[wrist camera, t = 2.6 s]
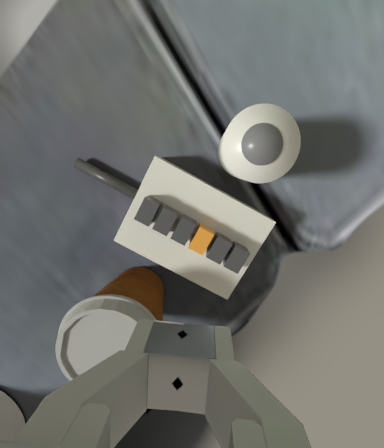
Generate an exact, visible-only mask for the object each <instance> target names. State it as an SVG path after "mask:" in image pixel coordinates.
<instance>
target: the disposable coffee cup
mask: <svg viewBox="0 0 384 448" xmlns="http://www.w3.org/2000/svg"><path fill="white" fill-rule="evenodd" d="M163 303H164V285H163V282H162V280H161V278H160V277H159V276H158V275H157V274H156V273H155V272H154V271H152V270H150V269H148V268H144V267H133V268H130V269H128V270H126V271H124V272H123V273H122V274H121V275H119V276H118V277H117V278H116V279H114V280H113V281H112V282H110V283H109V284H108V285H106V286H105V287H104V288H103V289H102V290H100V291H99V292H98V293H96V294H95V295H94V296H93V297H90V298H87V299H85V300H83V301H81V302H79V303H78V304H76V305H75V306H74V307H72V308H71V309H70V310H69V311H68V312H67V314H66V315H65V316H64V318H63V320H62V322H61V324H60V327H59V332H58V337H57V340H56V349H55V352H56V358H57V361H58V364H59V366H60V368H61V370H62V372H63V374H64V375H65V376H66V377H67V378H68V379H69V381H71V380H73V379H74V378H76V377H78V376H79V375H81V374H82V373H84V372H86V371H87V370H89V369H91V368H92V367H94V366H95V365H97V364H99V363H100V362H102V361H103V360H105V359H107V358H108V357H110V356H112V355H113V354H115V353H116V352H118V351H120V350H124V351H125V349H126V346H127V344H128V342H129V340H130V337H131V335H132V333H133V331H134V329H135V326H136V324H137V322H138V320H139V319H149V320H154V321H155V320H158V321H162V319H163Z"/></svg>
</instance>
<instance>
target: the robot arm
mask: <svg viewBox="0 0 384 448" xmlns="http://www.w3.org/2000/svg"><path fill="white" fill-rule="evenodd" d="M146 408H147V409H161V410H175V411H183V412H191V413H197V414H205V417H206V419H207V421H208V423H209V424H210V427H211V429H212V430H213V432H214V434H215V436H216V438H217V440H218V442H219V444H220V446H221V447H222V448H311V445H310V443H309V440H308V437H307V435H306V432H305V430H304V427H303V425H302V423H301V422H300V421H299V420H298V419H297V418H296V417H295V416H294V415H293V414H292V413H291V412H290V411H289V410H288V409H287V408H286V407H285V406H284V405H283V404H282V403H281V402H280V401H279V400H278V399H277V398H276V397H275V396H274V395H273V394H272V393H271V392H270V391H269V390H268V389H267V388H265V387H264V385H263V384H261V383H260V382H259V380H257V379H256V378H255V377H254V376H253V375H252V374H251V373H250V372H249V371H248V370H247V369H246V368H245V367H244V366H243V365H242V364H241V363H240V362H237V361H235V358H234V352H233V345H232V339H231V332H230V328H229V327H226V326H206V325H192V324H184V323H175V322H167V321H158V320H155V321H154V320H149V319H139V320H138V322H137V324H136V326H135V329H134V331H133V333H132V335H131V337H130V340H129V342H128V344H127V346H126V349H125V351H124V350H120V351H118V352H116V353H115V354H113V355H112V356H110V357H108V358H107V359H105V360H103V361H102V362H100V363H99V364H97V365H95V366H94V367H92V368H91V369H89V370H87V371H86V372H84V373H82V374H81V375H79V376H78V377H76V378H74V379H73V380H71V381H70V382H68V383H66V384H65V385H63V386H61V387H60V388H58V389H57V390H55V391H53V392H52V393H50V394H49V395H47V396H45V397H44V399H43V400H42V402H41V403H40V405H39V406H38V407H37V409H36V410H35V412H34V413H33V414H32V416H31V417H30V419H29V420H28V421H27V423H26V424H25V420H24V417H23V415H22V412H21V411H20V409H19V407H18V406H17V405H16V403H15V402H14V401H13V400H12V399H11V398H10V397H9V396H8V395H6V394H5V393H4V392H2V391H1V390H0V448H114V447H115V446H116V445H117V443H118V442H119V441H120V440H121V439H122V438H123V436H124V435H125V434H126V433H127V432H128V431H129V430H130V429H131V427H132V426H133V425H134V424H135V423H136V422H137V420H138V419H139V418H140V417H141V416H142V415H143V414H144V412H145V411H146Z"/></svg>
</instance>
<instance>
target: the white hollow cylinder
mask: <svg viewBox="0 0 384 448" xmlns="http://www.w3.org/2000/svg"><path fill="white" fill-rule="evenodd" d="M300 145H301V137H300V131H299V128H298V125H297V123H296V121H295V120H294V118H293V117H292V116H291V115H290V114H289V113H288V112H287V111H286V110H284V109H283V108H281V107H279V106H276V105H272V104H257V105H253V106H250V107H248V108H246V109H244V110H242V111H241V112H240V113H238V114H237V115H236V116H235V117H234V119H233V120H232V121H231V123H230V124H229V126H228V128H227V129H226V131H225V133H224V135H223V136H222V138H221V140H220V143H219V146H218V158H219V162H220V164H221V166H222V168H223V169H224V170H225V171H226V172H227V173H228V174H230V175H231V176H233V177H236V178H239V179H242V180H246V181H249V182H252V183H267V182H271V181H274V180H276V179H278V178H280V177H282V176H283V175H284V174H286V173H287V172H288V171H289V170H290V169H291V168H292V166H293V165H294V163H295V161H296V159H297V157H298V155H299V151H300Z"/></svg>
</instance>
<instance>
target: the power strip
mask: <svg viewBox="0 0 384 448" xmlns="http://www.w3.org/2000/svg"><path fill="white" fill-rule="evenodd" d="M74 167H75V168H76V169H78V170H80V171H82V172H84V173H86V174H88V175H89V176H91V177H93V178H95V179H97V180H99V181H101V182H103V183H104V184H106V185H108V186H110V187H112V188H114V189H116V190H118V191H119V192H121V193H123V194H125V195H127V196H129V197H131V198H133V199H134V200H133V202H132V204H131V206H130V208H129V210H128V212H127V214H126V216H125V218H124V221H123V223H122V225H121V227H120V229H119V231H118V233H117V235H116V237H115V239H114V241H115V242H117V243H119V244H121V245H123V246H125V247H127V248H129V249H131V250H132V251H134V252H136V253H138V254H140V255H142V256H144V257H146V258H148V259H150V260H152V261H154V262H156V263H157V264H159V265H161V266H163V267H165V268H167V269H169V270H171V271H173V272H175V273H177V274H179V275H181V276H182V277H184V278H186V279H188V280H190V281H192V282H194V283H196V284H198V285H200V286H202V287H204V288H206V289H207V290H209V291H211V292H213V293H215V294H217V295H219V296H221V297H223V298H225V299H227V300H228V298H229V296H230V295H231V293H232V292H233V290H234V289H235V287H236V285H237V284H238V282H239V281H240V279H241V277H242V276H243V274H244V273H245V271H246V269H247V268H248V266H249V265H250V263H251V262H252V260H253V258H254V257H255V255H256V254H257V252H258V250H259V249H260V247H261V246H262V244H263V242H264V241H265V239H266V238H267V236H268V234H269V233H270V231H271V230H272V228H273V227H274V225H275V223H276V222H275V221H274V220H272V219H271V218H270V217H269V216H267V215H266V214H264V213H262V212H260V211H258V210H256V209H255V208H253V207H251V206H249V205H247V204H245V203H244V202H242V201H240V200H238V199H236V198H234V197H233V196H231V195H229V194H227V193H225V192H224V191H222V190H220V189H218V188H216V187H214V186H213V185H211V184H209V183H207V182H205V181H203V180H202V179H200V178H198V177H196V176H194V175H193V174H191V173H189V172H187V171H185V170H183V169H182V168H180V167H178V166H176V165H174V164H172V163H171V162H169V161H167V160H165V159H163V158H162V157H157V156H155V157H154V159H153V161H152V163H151V165H150V167H149V169H148V171H147V173H146V175H145V177H144V179H143V181H142V183H141V186H140V188H139V190H138V189H136V188H134V187H132V186H130V185H129V184H127V183H125V182H123V181H121V180H119V179H117V178H116V177H114V176H112V175H110V174H108V173H106V172H104V171H103V170H101V169H99V168H97V167H95V166H93V165H91V164H90V163H88V162H86V161H84V160H82V159H80V158H78V159H77V160H76V161H75V163H74Z"/></svg>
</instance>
